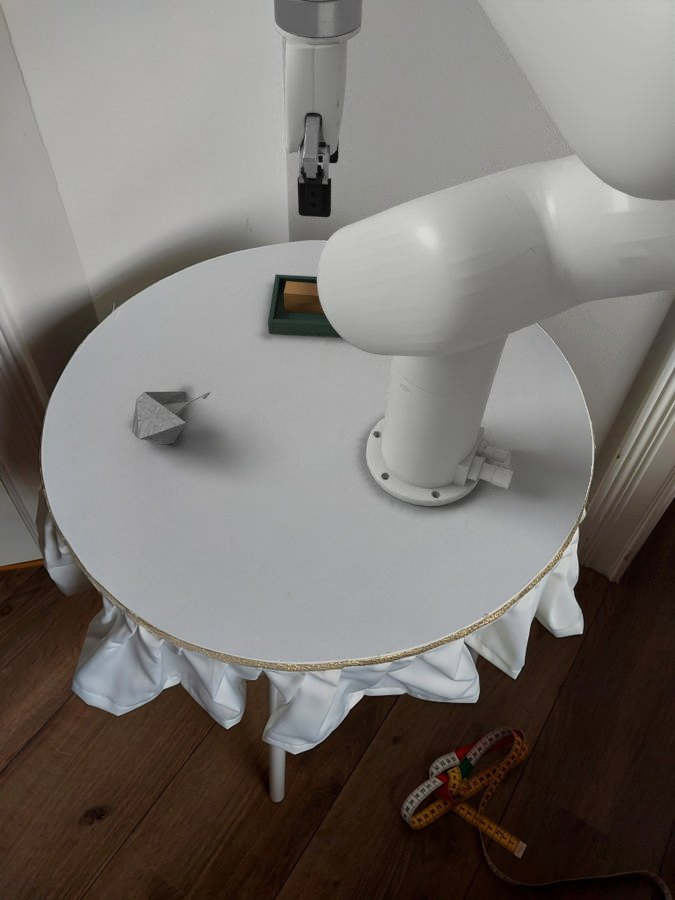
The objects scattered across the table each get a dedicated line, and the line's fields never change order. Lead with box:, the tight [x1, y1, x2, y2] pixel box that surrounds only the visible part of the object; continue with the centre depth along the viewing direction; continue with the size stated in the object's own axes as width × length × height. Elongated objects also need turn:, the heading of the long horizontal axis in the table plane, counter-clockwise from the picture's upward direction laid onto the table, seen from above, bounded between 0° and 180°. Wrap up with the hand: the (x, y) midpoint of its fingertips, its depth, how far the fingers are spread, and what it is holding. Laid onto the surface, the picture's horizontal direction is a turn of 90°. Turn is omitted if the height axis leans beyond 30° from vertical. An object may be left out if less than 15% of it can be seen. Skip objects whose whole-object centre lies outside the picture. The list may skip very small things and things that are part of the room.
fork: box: [284, 281, 325, 315], centre depth 89 cm, size 14×4×3 cm, turn 85°
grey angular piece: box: [131, 391, 211, 445], centre depth 77 cm, size 12×6×9 cm
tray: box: [267, 274, 343, 339], centre depth 90 cm, size 17×9×2 cm, turn 87°
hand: (319, 187), depth 75 cm, fingers open, 9 cm apart
